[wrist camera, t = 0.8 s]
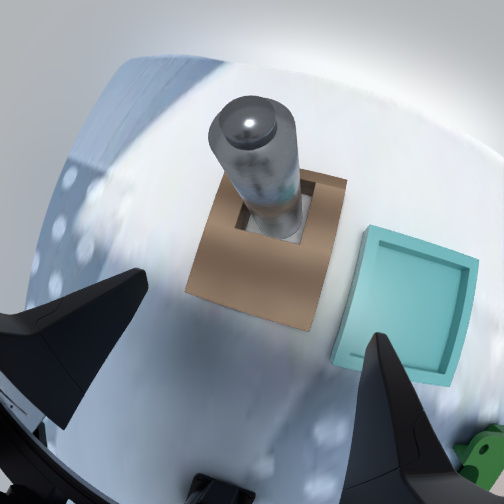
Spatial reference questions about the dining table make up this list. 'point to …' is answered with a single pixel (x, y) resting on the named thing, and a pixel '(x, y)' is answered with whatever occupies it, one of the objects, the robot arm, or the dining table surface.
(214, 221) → the socket block
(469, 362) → the dining table surface
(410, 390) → the robot arm
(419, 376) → the tray
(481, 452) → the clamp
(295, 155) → the grey capped bottle
